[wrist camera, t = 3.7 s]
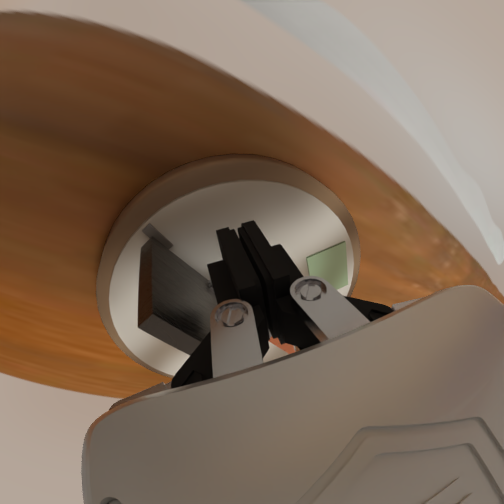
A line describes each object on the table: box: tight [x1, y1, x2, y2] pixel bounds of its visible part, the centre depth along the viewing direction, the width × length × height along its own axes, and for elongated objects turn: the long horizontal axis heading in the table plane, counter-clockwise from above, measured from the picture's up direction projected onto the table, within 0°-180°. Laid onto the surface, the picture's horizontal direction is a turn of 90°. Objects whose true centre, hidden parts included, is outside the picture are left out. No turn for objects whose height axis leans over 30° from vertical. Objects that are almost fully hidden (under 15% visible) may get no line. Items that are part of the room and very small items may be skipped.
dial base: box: [96, 154, 360, 378], centre depth 18 cm, size 17×17×3 cm
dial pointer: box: [138, 236, 295, 355], centre depth 15 cm, size 14×4×5 cm, turn 37°
